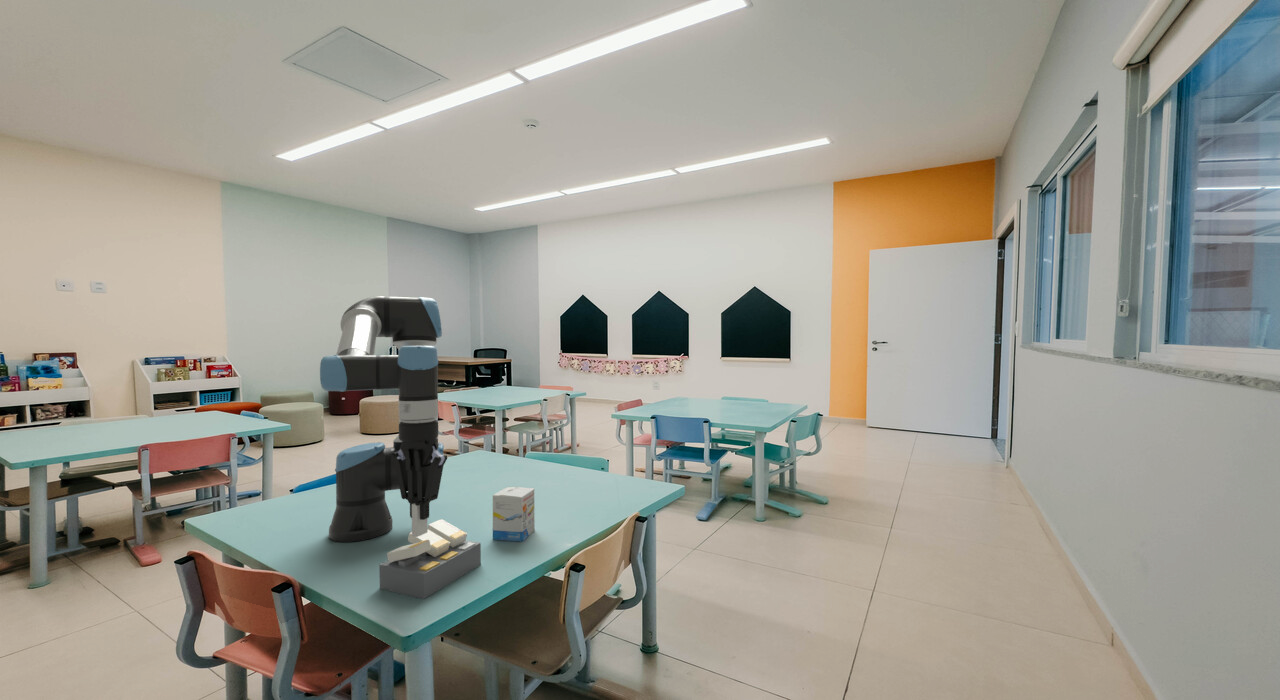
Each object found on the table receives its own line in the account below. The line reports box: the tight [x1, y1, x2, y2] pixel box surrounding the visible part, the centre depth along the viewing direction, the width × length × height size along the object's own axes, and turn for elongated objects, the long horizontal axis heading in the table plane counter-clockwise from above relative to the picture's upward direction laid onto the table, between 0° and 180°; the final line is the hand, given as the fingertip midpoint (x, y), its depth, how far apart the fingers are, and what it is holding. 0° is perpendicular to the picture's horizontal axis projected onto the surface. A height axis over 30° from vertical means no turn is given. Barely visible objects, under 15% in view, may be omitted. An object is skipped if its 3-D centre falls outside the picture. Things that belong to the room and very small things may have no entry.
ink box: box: [492, 486, 536, 542], centre depth 135 cm, size 9×8×12 cm
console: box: [378, 539, 482, 600], centre depth 111 cm, size 12×17×6 cm
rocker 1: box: [386, 540, 431, 562], centre depth 107 cm, size 8×4×2 cm, turn 69°
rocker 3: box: [428, 518, 468, 547], centre depth 117 cm, size 8×4×2 cm, turn 68°
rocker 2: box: [407, 530, 450, 557], centre depth 112 cm, size 8×4×2 cm, turn 68°
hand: (419, 534), depth 105 cm, fingers closed
